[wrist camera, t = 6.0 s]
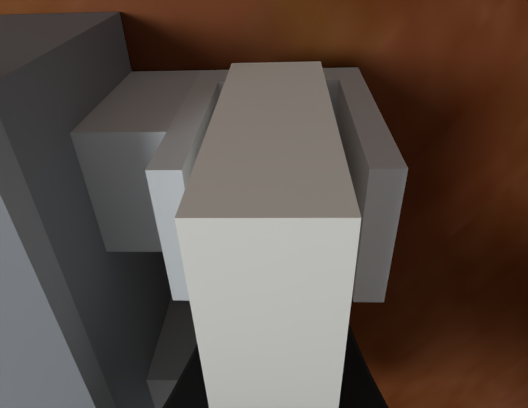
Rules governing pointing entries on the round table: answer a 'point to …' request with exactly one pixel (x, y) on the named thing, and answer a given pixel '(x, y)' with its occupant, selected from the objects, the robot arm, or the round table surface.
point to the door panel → (271, 241)
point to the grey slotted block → (127, 210)
